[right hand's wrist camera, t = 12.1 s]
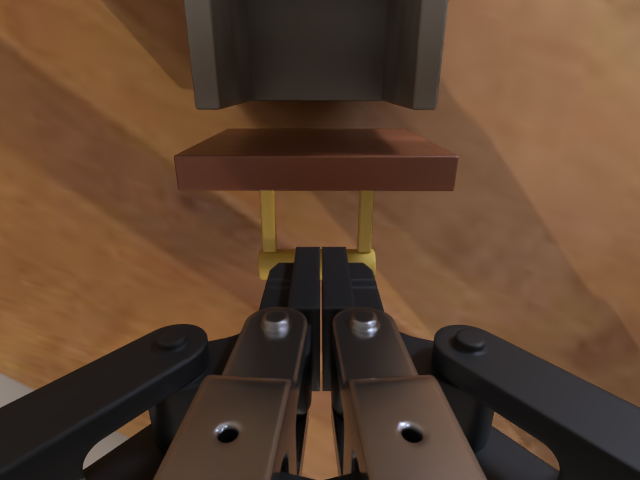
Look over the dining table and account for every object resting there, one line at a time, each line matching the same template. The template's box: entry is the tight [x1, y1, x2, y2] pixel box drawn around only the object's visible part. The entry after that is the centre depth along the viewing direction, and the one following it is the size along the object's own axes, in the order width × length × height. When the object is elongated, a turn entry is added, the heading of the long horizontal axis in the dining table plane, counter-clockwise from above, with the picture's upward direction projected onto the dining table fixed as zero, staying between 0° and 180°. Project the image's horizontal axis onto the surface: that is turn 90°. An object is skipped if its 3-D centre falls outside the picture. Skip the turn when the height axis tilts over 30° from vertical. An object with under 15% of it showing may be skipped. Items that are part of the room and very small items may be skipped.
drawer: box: [174, 0, 458, 280], centre depth 15 cm, size 21×9×8 cm, turn 0°
